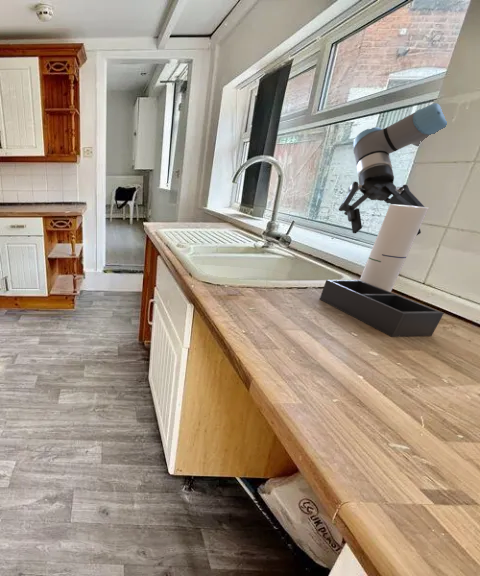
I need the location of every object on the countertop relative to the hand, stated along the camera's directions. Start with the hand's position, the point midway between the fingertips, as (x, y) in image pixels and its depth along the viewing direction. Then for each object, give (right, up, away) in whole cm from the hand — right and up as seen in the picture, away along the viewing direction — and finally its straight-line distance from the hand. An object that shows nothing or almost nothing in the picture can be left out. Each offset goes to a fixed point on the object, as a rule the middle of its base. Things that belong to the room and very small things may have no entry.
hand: (385, 233), depth 83 cm
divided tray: (-12, -22, -9) cm, 26 cm away
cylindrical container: (-2, -18, +3) cm, 18 cm away
